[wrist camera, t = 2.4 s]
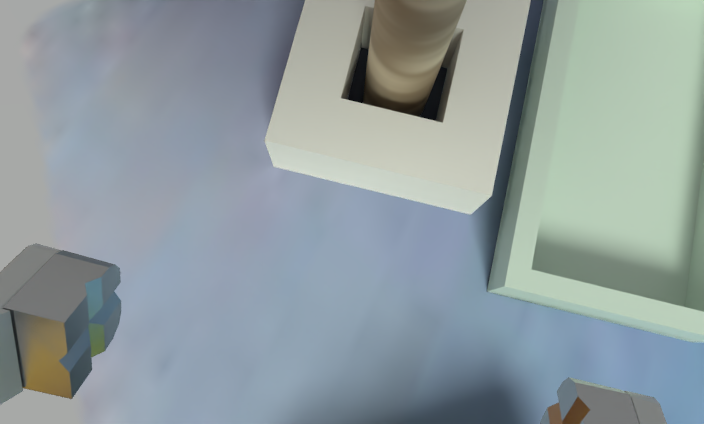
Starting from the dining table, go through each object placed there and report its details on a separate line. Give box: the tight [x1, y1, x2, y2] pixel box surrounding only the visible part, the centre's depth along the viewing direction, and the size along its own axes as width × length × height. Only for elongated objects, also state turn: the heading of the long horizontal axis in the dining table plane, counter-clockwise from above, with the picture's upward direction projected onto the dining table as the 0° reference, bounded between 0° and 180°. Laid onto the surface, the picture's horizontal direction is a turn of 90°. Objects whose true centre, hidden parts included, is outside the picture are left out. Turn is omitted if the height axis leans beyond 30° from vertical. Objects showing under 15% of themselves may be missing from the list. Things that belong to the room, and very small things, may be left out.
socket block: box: [265, 0, 531, 215], centre depth 29 cm, size 10×10×4 cm
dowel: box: [363, 0, 467, 117], centre depth 24 cm, size 3×3×13 cm
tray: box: [487, 0, 704, 342], centre depth 29 cm, size 10×19×3 cm, turn 166°
